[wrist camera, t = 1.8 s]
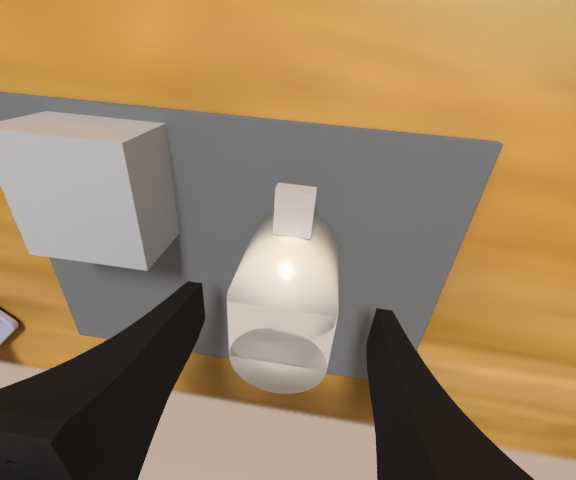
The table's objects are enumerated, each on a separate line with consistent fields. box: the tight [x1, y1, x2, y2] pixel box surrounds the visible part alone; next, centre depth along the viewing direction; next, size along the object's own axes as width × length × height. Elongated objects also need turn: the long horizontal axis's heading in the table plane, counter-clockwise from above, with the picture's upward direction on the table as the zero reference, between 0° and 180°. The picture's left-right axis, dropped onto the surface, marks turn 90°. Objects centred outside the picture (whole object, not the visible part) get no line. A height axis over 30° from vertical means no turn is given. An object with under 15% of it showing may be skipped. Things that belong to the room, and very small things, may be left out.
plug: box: [227, 183, 339, 394], centre depth 14 cm, size 10×4×4 cm, turn 176°
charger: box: [0, 111, 179, 271], centre depth 13 cm, size 5×5×3 cm
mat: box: [0, 92, 503, 380], centre depth 16 cm, size 20×14×1 cm
